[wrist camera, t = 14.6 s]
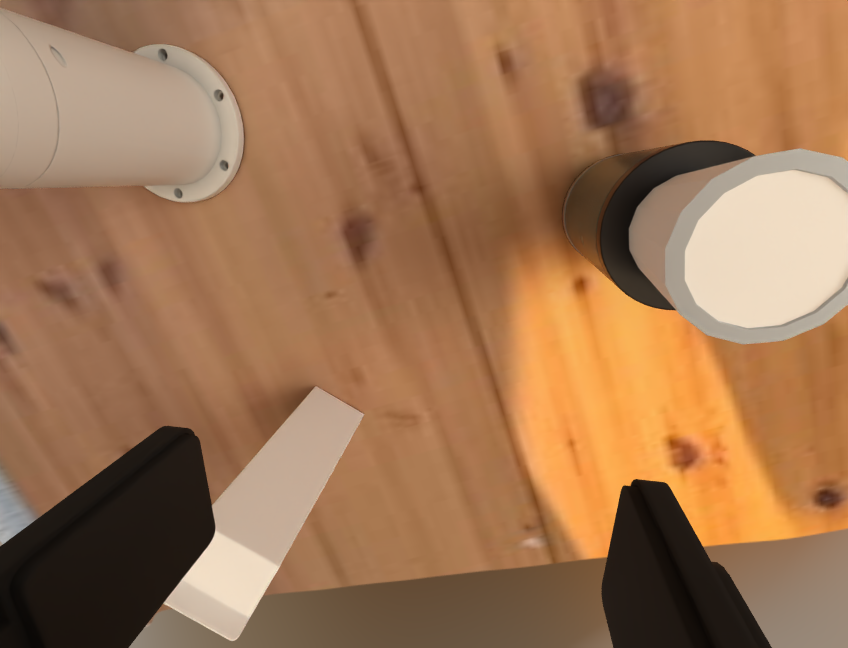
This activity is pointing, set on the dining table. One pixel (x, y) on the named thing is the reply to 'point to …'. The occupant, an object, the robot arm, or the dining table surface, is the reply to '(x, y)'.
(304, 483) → the milk
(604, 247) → the green can
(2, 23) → the robot arm
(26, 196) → the dining table surface
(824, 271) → the shot glass
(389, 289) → the dining table surface
